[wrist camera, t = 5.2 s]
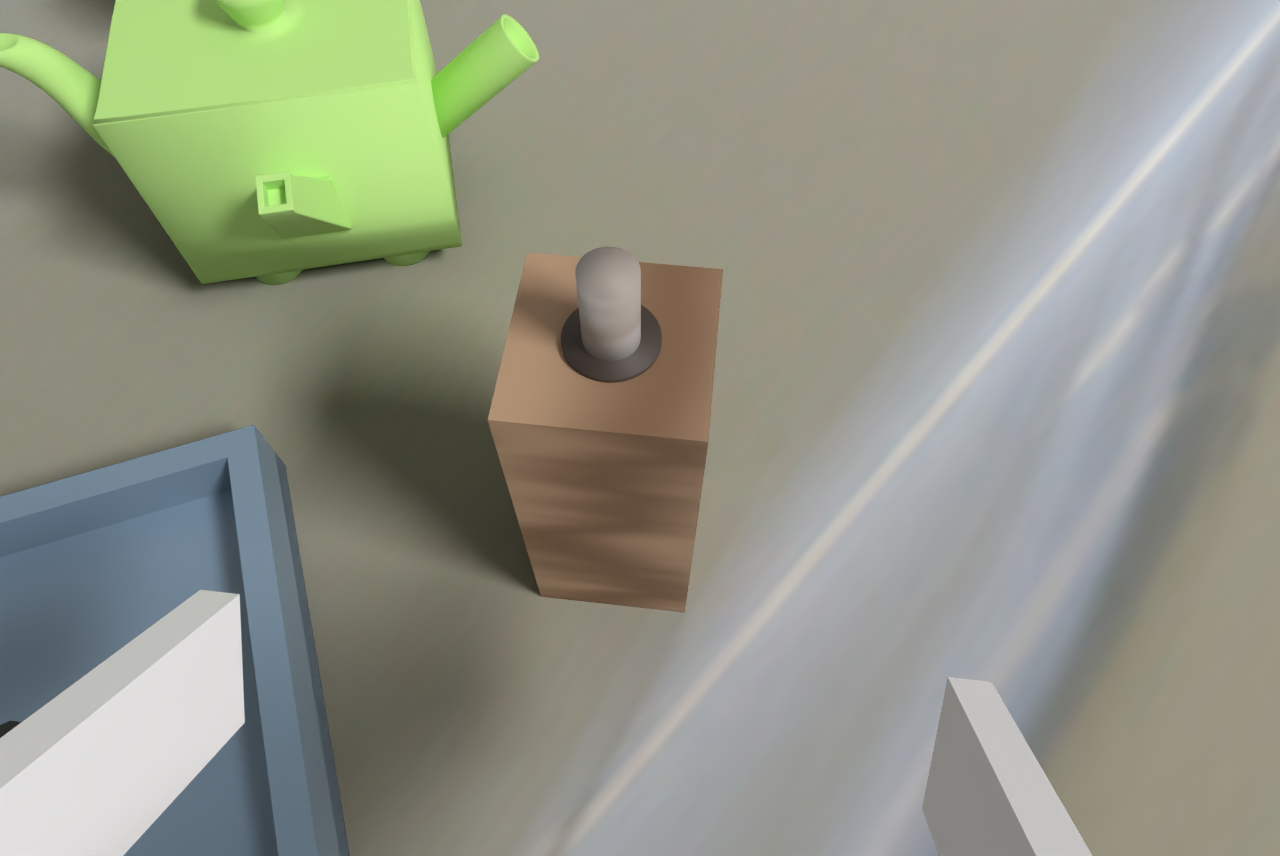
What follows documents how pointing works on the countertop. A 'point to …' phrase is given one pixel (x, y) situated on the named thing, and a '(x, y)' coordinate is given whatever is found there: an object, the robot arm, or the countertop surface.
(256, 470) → the tray
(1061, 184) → the countertop surface
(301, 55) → the kettle
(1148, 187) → the countertop surface
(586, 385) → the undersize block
